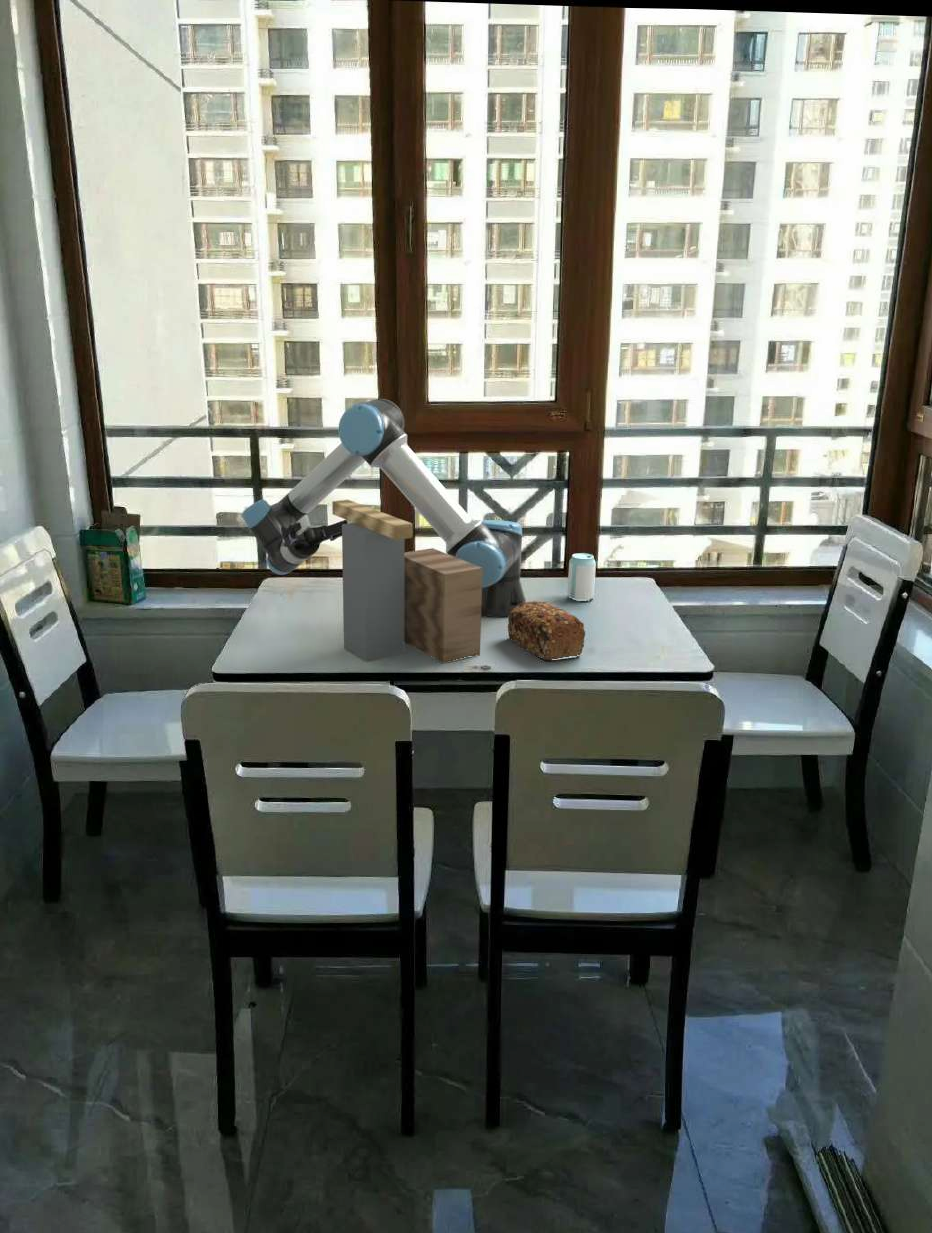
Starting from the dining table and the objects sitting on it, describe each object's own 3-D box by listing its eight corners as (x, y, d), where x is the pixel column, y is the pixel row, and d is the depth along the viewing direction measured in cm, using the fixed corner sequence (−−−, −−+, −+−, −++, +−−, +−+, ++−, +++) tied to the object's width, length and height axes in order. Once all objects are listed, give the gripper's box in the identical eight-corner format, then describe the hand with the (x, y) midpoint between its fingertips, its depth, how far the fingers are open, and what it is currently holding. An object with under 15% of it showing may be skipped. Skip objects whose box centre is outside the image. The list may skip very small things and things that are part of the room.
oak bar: (332, 514, 229) (332, 501, 228) (347, 512, 231) (347, 499, 230) (396, 539, 207) (396, 525, 206) (412, 537, 209) (412, 523, 208)
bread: (584, 658, 226) (587, 616, 223) (543, 664, 222) (546, 622, 219) (544, 633, 242) (546, 593, 239) (505, 638, 238) (506, 598, 235)
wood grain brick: (396, 637, 236) (396, 553, 230) (431, 630, 242) (432, 548, 235) (443, 663, 221) (444, 574, 214) (479, 655, 226) (482, 567, 220)
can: (578, 593, 274) (581, 551, 270) (598, 599, 269) (601, 556, 265) (561, 598, 269) (564, 555, 265) (582, 604, 264) (584, 560, 261)
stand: (343, 648, 228) (341, 524, 219) (381, 640, 234) (381, 519, 225) (365, 661, 221) (364, 533, 212) (404, 653, 226) (404, 528, 217)
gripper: (348, 552, 256) (384, 526, 238) (257, 566, 242) (288, 539, 224) (341, 525, 256) (376, 496, 239) (250, 536, 243) (280, 507, 225)
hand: (334, 517), depth 232 cm, fingers open, 13 cm apart
